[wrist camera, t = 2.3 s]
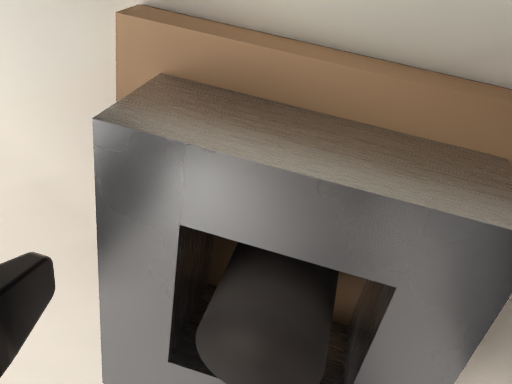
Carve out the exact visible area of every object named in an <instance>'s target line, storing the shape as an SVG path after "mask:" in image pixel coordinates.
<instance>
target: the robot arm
mask: <svg viewBox="0 0 512 384" xmlns="http://www.w3.org/2000/svg"><path fill="white" fill-rule="evenodd" d="M54 291H55V278H54V269H53V262H52V260H51V258H50V257H48V256H45V255H42V254H39V253H35V252H30V253H26V254H24V255H21V256H19V257H16V258H14V259H11V260H9V261H6V262H4V263H2V264H0V377H1V376H2V375H3V373H4V372H5V371H6V369H7V368H8V367H9V365H10V364H11V362H12V361H13V359H14V358H15V356H16V355H17V353H18V352H19V350H20V349H21V347H22V345H23V344H24V342H25V341H26V339H27V337H28V336H29V334H30V332H31V331H32V329H33V328H34V326H35V324H36V323H37V321H38V320H39V318H40V316H41V315H42V313H43V312H44V310H45V308H46V307H47V305H48V303H49V302H50V300H51V299H52V297H53V294H54Z"/></svg>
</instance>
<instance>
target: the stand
mask: <svg viewBox="0 0 512 384" xmlns="http://www.w3.org/2000/svg"><path fill="white" fill-rule="evenodd" d="M160 73H163V74H167V75H171V76H175V77H179V78H183V79H187V80H191V81H195V82H200V83H204V84H208V85H212V86H216V87H220V88H224V89H228V90H232V91H236V92H240V93H244V94H248V95H252V96H256V97H260V98H264V99H268V100H272V101H276V102H280V103H284V104H289V105H293V106H297V107H301V108H305V109H309V110H313V111H317V112H321V113H325V114H329V115H333V116H337V117H341V118H345V119H349V120H353V121H357V122H361V123H365V124H369V125H373V126H378V127H382V128H386V129H390V130H394V131H398V132H402V133H406V134H410V135H414V136H418V137H422V138H426V139H430V140H434V141H438V142H442V143H446V144H450V145H454V146H458V147H462V148H467V149H471V150H475V151H479V152H483V153H487V154H491V155H495V156H499V157H503V158H507V159H508V161H509V163H510V165H511V167H512V90H511V89H507V88H502V87H498V86H493V85H489V84H485V83H480V82H476V81H472V80H467V79H463V78H458V77H454V76H450V75H445V74H441V73H437V72H432V71H428V70H423V69H419V68H415V67H410V66H406V65H402V64H397V63H393V62H388V61H384V60H380V59H375V58H371V57H367V56H362V55H358V54H353V53H349V52H345V51H340V50H336V49H332V48H327V47H323V46H318V45H314V44H310V43H305V42H301V41H297V40H292V39H288V38H283V37H279V36H275V35H270V34H266V33H262V32H257V31H253V30H248V29H244V28H240V27H235V26H231V25H227V24H222V23H218V22H213V21H209V20H205V19H200V18H196V17H192V16H187V15H183V14H178V13H174V12H170V11H165V10H161V9H157V8H152V7H148V6H143V5H136V6H133V7H130V8H127V9H124V10H121V11H118V12H116V102H118V101H119V100H121V99H122V98H124V97H125V96H127V95H128V94H130V93H131V92H133V91H134V90H136V89H137V88H139V87H140V86H142V85H143V84H145V83H146V82H148V81H149V80H151V79H152V78H154V77H155V76H157V75H158V74H160ZM365 281H366V279H365V278H362V277H358V276H355V275H351V274H348V273H344V272H341V271H337V270H334V269H331V268H327V267H324V266H320V265H317V264H313V263H310V262H306V261H303V260H299V259H296V258H293V257H289V256H286V255H282V254H279V253H275V252H272V251H268V250H265V249H262V248H258V247H255V246H251V245H248V244H244V243H241V242H237V241H234V240H230V239H227V238H224V237H220V236H217V235H214V240H213V247H212V254H211V262H210V269H209V276H208V284H212V285H215V286H217V288H216V290H215V292H214V294H213V296H212V299H211V301H210V303H209V305H208V307H207V309H206V311H205V313H204V315H203V318H202V320H201V322H200V324H199V326H198V328H197V332H196V347H197V350H198V353H199V355H200V357H201V359H202V361H203V362H204V364H205V365H206V366H207V367H208V369H209V370H210V371H211V372H212V373H213V374H214V375H215V376H217V377H218V378H219V379H220V380H222V381H223V382H225V383H226V384H319V382H320V381H321V379H322V377H323V375H324V371H325V365H326V358H327V351H328V345H329V338H330V331H331V324H332V321H333V322H337V323H340V324H343V325H346V326H348V324H349V322H350V319H351V317H352V314H353V312H354V309H355V306H356V304H357V301H358V299H359V296H360V294H361V291H362V289H363V286H364V284H365Z"/></svg>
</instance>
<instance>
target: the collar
mask: <svg viewBox="0 0 512 384" xmlns="http://www.w3.org/2000/svg"><path fill="white" fill-rule="evenodd" d="M92 119H93V145H94V171H95V197H96V223H97V248H98V274H99V300H100V326H101V352H102V378H103V383H104V384H226V383H225V382H223V381H222V380H220V379H219V378H218V377H217V376H215V375H214V374H213V373H212V372H211V371H210V370H209V369H208V367H207V366H206V365H205V364H204V362H203V361H202V359H201V357H200V355H199V353H198V350H197V347H196V332H197V328H198V326H199V324H200V322H201V320H202V318H203V315H204V313H205V311H206V309H207V307H208V305H209V303H210V301H211V299H212V296H213V294H214V292H215V290H216V288H217V286H215V285H212V284H208V276H209V269H210V262H211V254H212V247H213V240H214V235H217V236H220V237H224V238H227V239H230V240H234V241H237V242H241V243H244V244H248V245H251V246H255V247H258V248H262V249H265V250H268V251H272V252H275V253H279V254H282V255H286V256H289V257H293V258H296V259H299V260H303V261H306V262H310V263H313V264H317V265H320V266H324V267H327V268H331V269H334V270H337V271H341V272H344V273H348V274H351V275H355V276H358V277H362V278H365V279H366V281H365V284H364V286H363V289H362V291H361V294H360V296H359V299H358V301H357V304H356V306H355V309H354V312H353V314H352V317H351V319H350V322H349V324H348V326H346V325H343V324H340V323H337V322H333V321H332V324H331V331H330V338H329V345H328V351H327V358H326V365H325V371H324V375H323V377H322V379H321V381H320V382H319V384H454V382H455V380H456V379H457V377H458V376H459V374H460V373H461V371H462V370H463V368H464V366H465V365H466V363H467V362H468V360H469V359H470V357H471V356H472V354H473V353H474V351H475V349H476V348H477V346H478V345H479V343H480V342H481V340H482V339H483V337H484V335H485V334H486V332H487V331H488V329H489V328H490V326H491V325H492V323H493V321H494V320H495V318H496V317H497V315H498V314H499V312H500V311H501V309H502V308H503V306H504V304H505V303H506V301H507V300H508V298H509V297H510V295H511V294H512V167H511V165H510V163H509V161H508V159H507V158H503V157H499V156H495V155H491V154H487V153H483V152H479V151H475V150H471V149H467V148H462V147H458V146H454V145H450V144H446V143H442V142H438V141H434V140H430V139H426V138H422V137H418V136H414V135H410V134H406V133H402V132H398V131H394V130H390V129H386V128H382V127H378V126H373V125H369V124H365V123H361V122H357V121H353V120H349V119H345V118H341V117H337V116H333V115H329V114H325V113H321V112H317V111H313V110H309V109H305V108H301V107H297V106H293V105H289V104H284V103H280V102H276V101H272V100H268V99H264V98H260V97H256V96H252V95H248V94H244V93H240V92H236V91H232V90H228V89H224V88H220V87H216V86H212V85H208V84H204V83H200V82H195V81H191V80H187V79H183V78H179V77H175V76H171V75H167V74H163V73H160V74H158V75H157V76H155V77H154V78H152V79H151V80H149V81H148V82H146V83H145V84H143V85H142V86H140V87H139V88H137V89H136V90H134V91H133V92H131V93H130V94H128V95H127V96H125V97H124V98H122V99H121V100H119V101H118V102H116V103H115V104H113V105H112V106H110V107H109V108H107V109H106V110H104V111H103V112H101V113H100V114H98V115H97V116H95V117H94V118H92Z"/></svg>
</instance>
